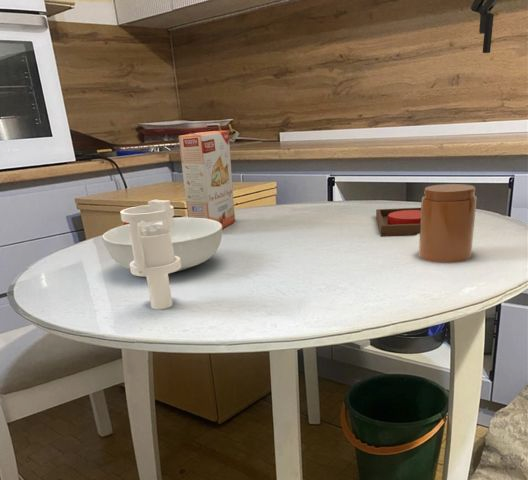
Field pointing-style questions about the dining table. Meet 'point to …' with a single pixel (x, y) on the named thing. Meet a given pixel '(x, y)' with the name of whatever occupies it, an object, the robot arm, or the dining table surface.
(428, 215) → the jar
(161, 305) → the white framed cylinder holder
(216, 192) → the cracker box
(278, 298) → the dining table surface
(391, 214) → the lid
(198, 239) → the serving bowl
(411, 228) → the tray
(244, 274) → the dining table surface
